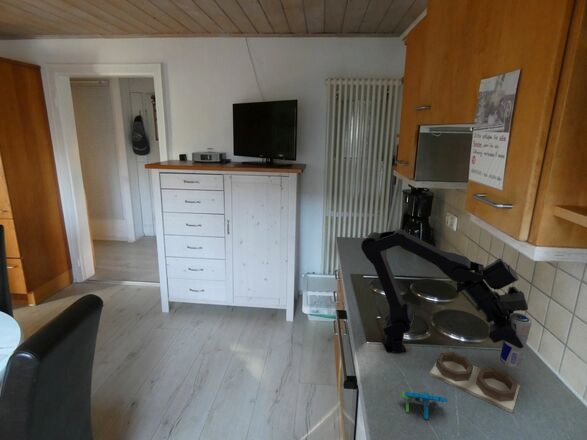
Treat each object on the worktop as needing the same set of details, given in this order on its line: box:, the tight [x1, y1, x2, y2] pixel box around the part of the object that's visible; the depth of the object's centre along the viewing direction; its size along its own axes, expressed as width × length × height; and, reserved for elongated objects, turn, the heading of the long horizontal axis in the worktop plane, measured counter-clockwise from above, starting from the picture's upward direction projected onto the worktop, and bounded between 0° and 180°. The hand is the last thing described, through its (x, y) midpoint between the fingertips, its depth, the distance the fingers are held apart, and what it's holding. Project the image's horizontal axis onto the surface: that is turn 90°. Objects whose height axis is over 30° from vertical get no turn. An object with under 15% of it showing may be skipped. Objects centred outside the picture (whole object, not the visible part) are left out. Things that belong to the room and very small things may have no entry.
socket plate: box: [429, 351, 521, 414], centre depth 98 cm, size 21×11×4 cm, turn 50°
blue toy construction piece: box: [400, 390, 448, 420], centre depth 88 cm, size 11×6×10 cm
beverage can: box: [499, 312, 533, 369], centre depth 96 cm, size 5×5×15 cm
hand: (521, 341), depth 95 cm, fingers closed on beverage can, 5 cm apart
